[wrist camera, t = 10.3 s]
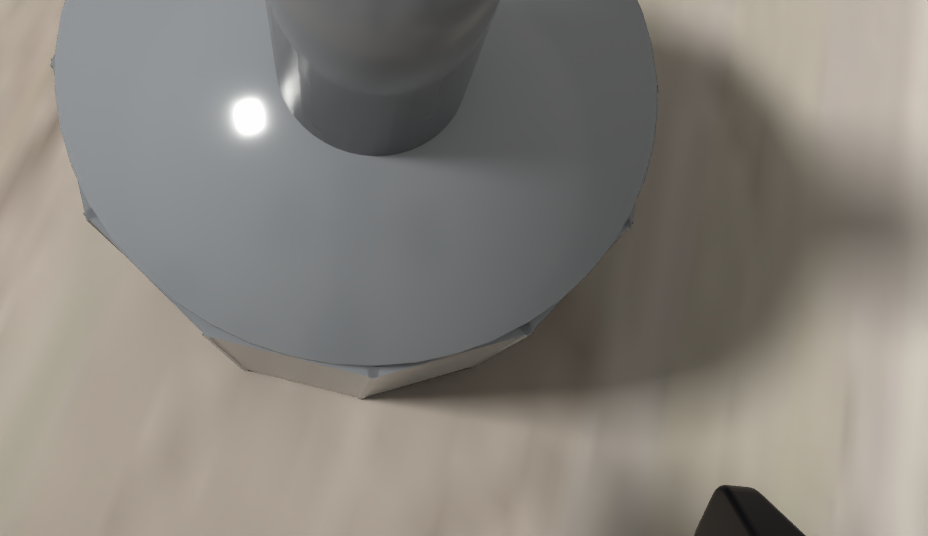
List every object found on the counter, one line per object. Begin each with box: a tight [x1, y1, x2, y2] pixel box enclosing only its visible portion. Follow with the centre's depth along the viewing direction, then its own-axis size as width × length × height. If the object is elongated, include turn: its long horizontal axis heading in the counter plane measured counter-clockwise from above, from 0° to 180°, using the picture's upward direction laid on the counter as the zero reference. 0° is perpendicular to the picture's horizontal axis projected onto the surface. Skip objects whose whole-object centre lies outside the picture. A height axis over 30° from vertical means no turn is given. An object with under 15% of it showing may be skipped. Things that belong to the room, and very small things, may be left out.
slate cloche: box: [50, 0, 658, 399], centre depth 14 cm, size 10×10×12 cm
